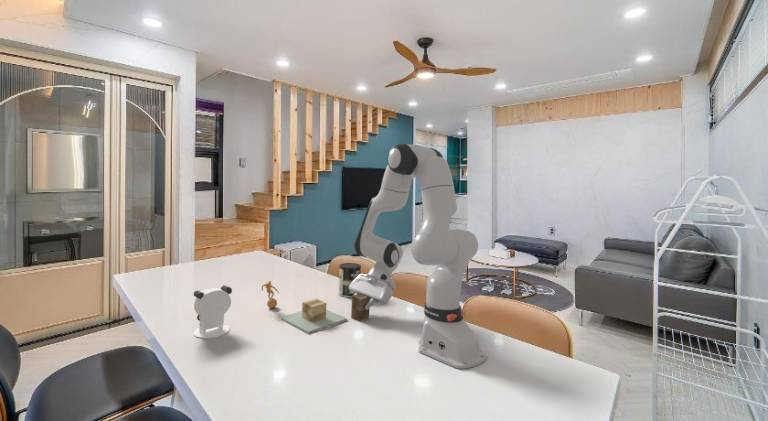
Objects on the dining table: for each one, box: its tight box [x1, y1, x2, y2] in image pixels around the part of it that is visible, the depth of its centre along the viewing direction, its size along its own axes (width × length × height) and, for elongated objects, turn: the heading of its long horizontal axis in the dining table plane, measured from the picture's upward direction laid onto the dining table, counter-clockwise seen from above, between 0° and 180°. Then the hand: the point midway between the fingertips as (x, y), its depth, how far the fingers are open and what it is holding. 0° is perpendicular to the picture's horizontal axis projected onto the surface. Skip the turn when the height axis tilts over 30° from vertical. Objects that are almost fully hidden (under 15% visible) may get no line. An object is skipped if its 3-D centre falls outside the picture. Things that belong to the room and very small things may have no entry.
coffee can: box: [338, 262, 362, 299], centre depth 168 cm, size 10×10×14 cm
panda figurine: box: [193, 285, 233, 340], centre depth 122 cm, size 12×11×15 cm
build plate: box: [280, 309, 348, 335], centre depth 136 cm, size 18×18×1 cm
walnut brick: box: [350, 294, 370, 323], centre depth 139 cm, size 5×5×9 cm
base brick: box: [301, 298, 327, 322], centre depth 136 cm, size 6×6×6 cm
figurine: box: [261, 280, 280, 309], centre depth 145 cm, size 8×6×12 cm
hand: (359, 306), depth 138 cm, fingers open, 5 cm apart
